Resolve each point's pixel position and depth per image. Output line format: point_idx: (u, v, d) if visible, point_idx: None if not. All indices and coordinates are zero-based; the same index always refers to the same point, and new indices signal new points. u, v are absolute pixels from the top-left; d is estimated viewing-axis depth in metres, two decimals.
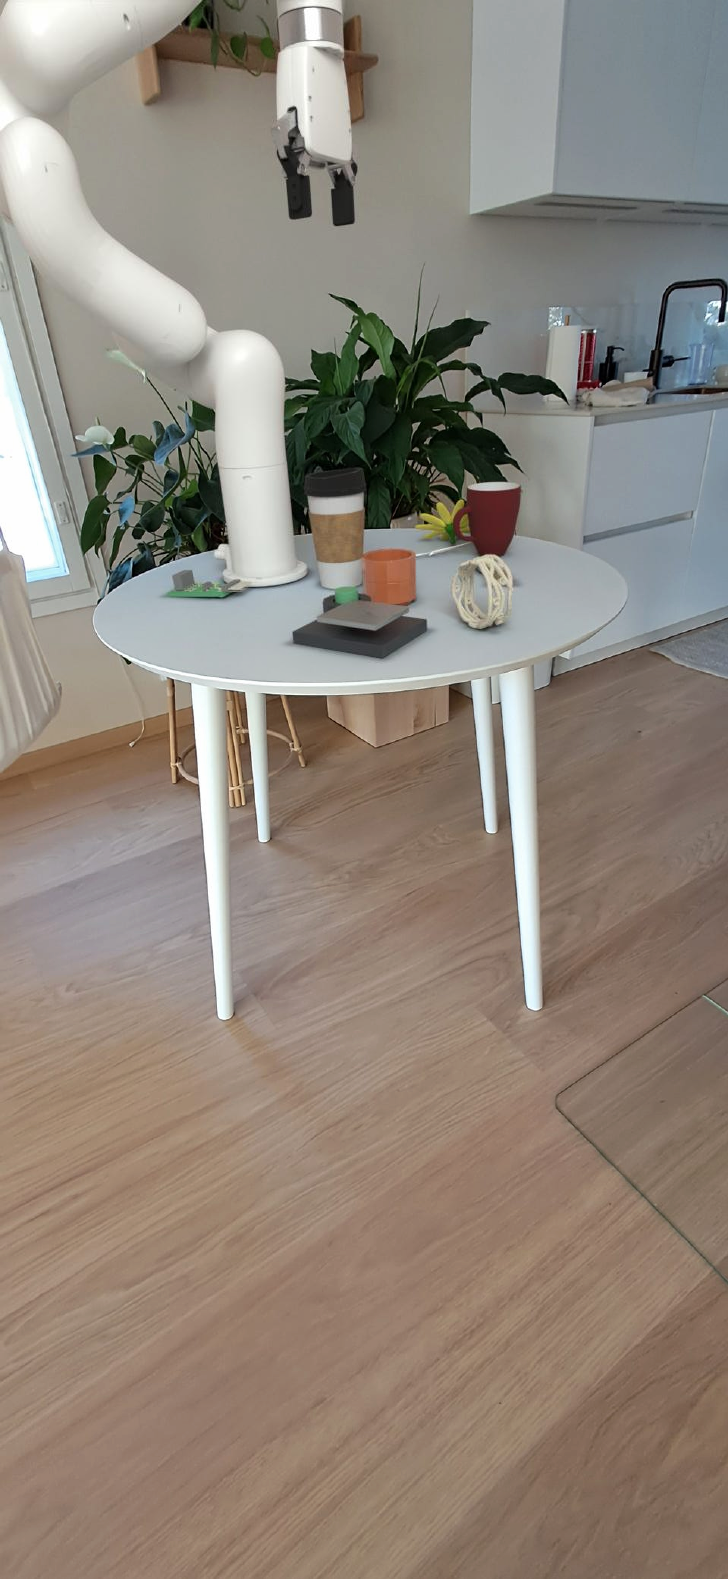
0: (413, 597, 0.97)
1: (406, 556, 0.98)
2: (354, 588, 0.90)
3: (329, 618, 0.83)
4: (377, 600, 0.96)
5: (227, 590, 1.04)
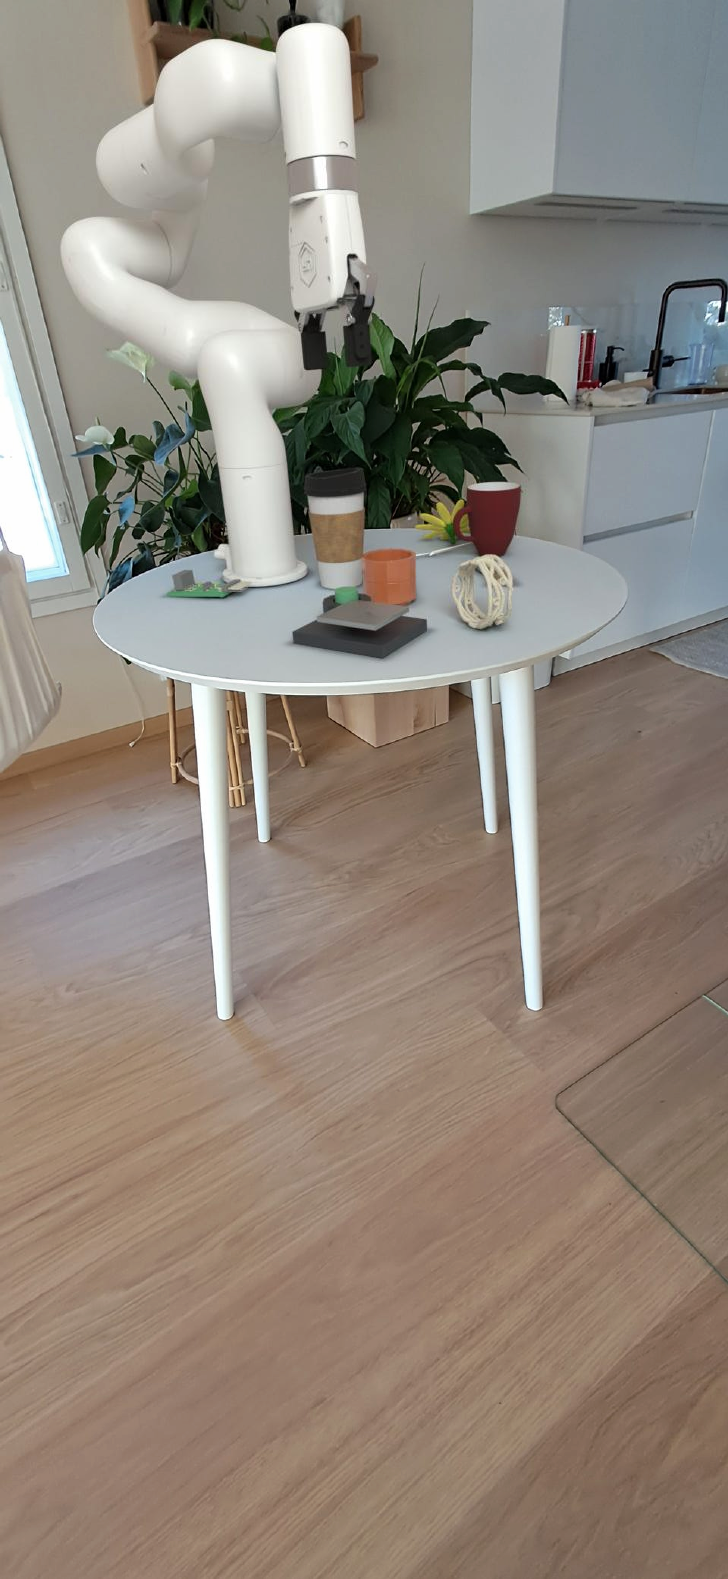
0: (413, 597, 0.97)
1: (406, 556, 0.98)
2: (354, 588, 0.90)
3: (329, 618, 0.83)
4: (377, 600, 0.96)
5: (227, 590, 1.04)
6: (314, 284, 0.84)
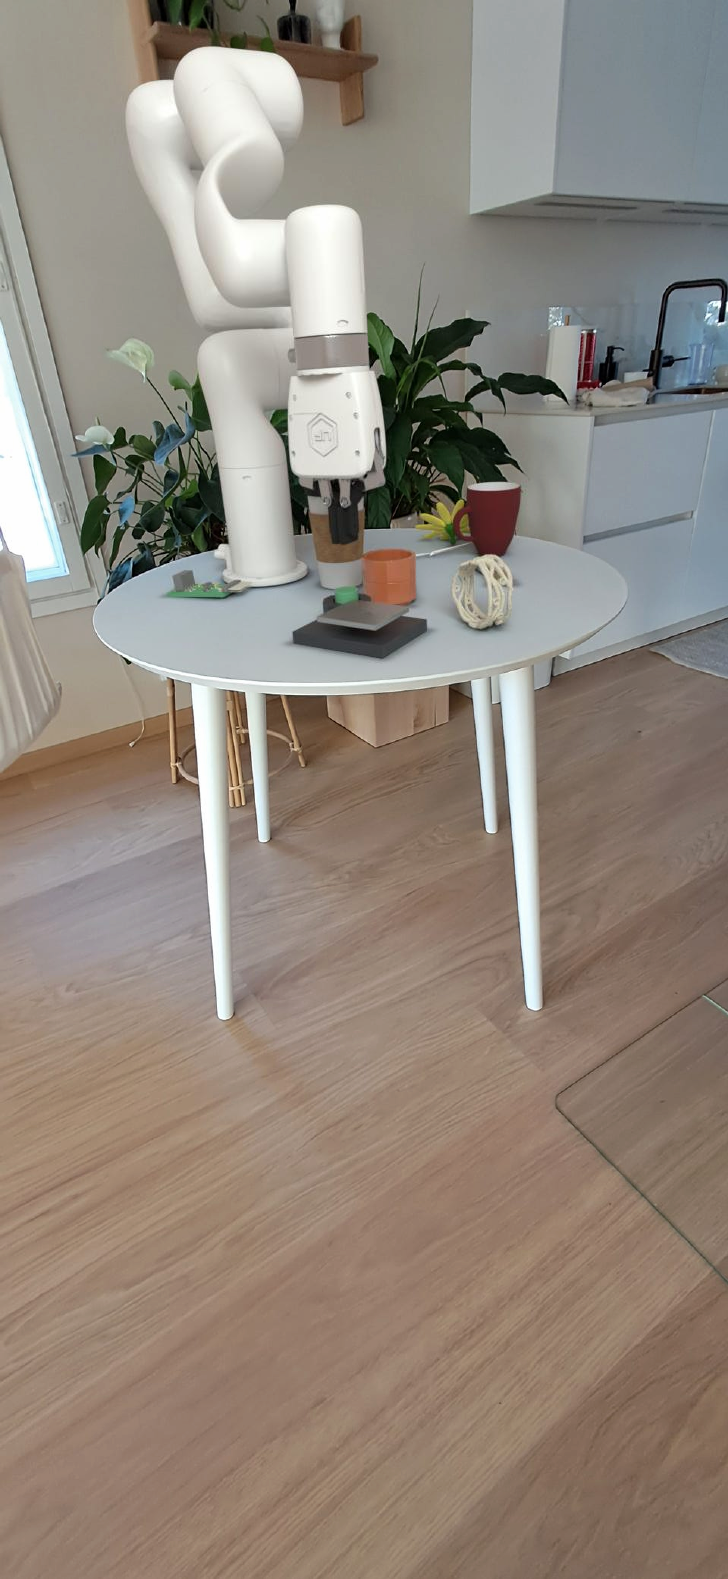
0: (413, 597, 0.97)
1: (406, 556, 0.98)
2: (354, 588, 0.90)
3: (329, 618, 0.83)
4: (377, 600, 0.96)
5: (227, 590, 1.04)
6: (334, 455, 0.80)
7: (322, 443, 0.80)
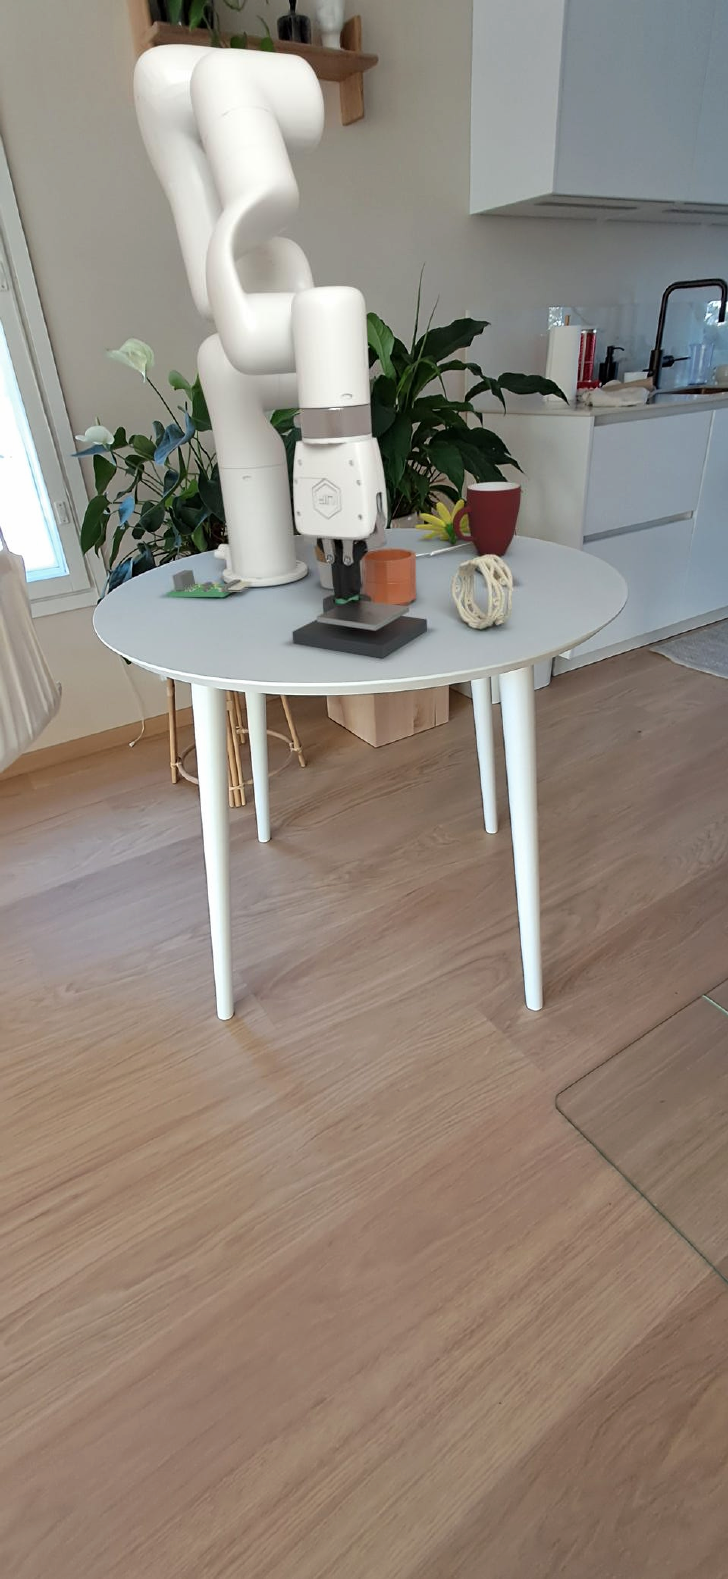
0: (413, 597, 0.97)
1: (406, 556, 0.98)
2: None
3: (329, 618, 0.83)
4: (377, 600, 0.96)
5: (227, 590, 1.04)
6: (337, 518, 0.83)
7: (326, 506, 0.83)
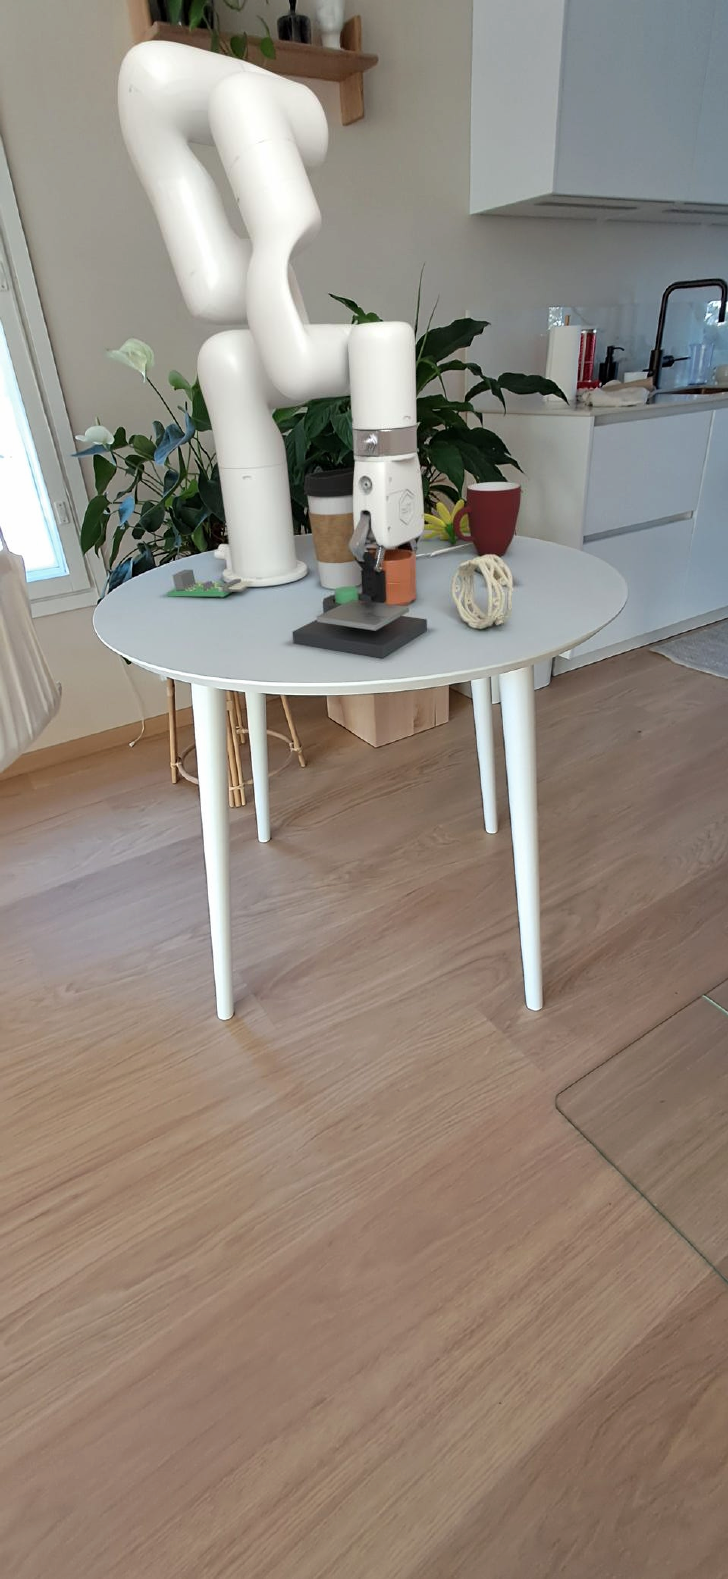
0: (413, 597, 0.97)
1: (406, 556, 0.98)
2: (354, 588, 0.90)
3: (329, 618, 0.83)
4: None
5: (227, 590, 1.04)
6: (412, 521, 0.94)
7: (406, 514, 0.92)
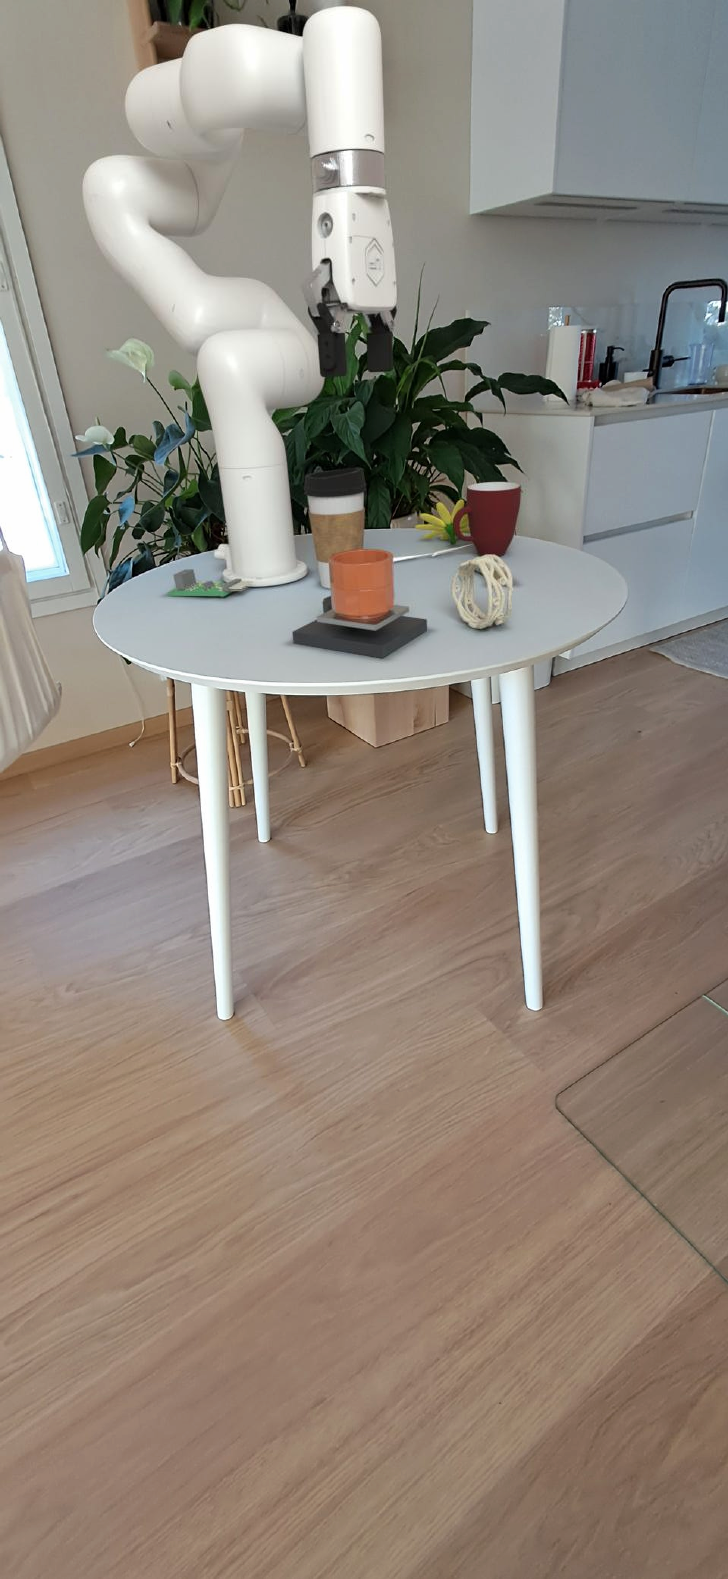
0: (390, 607, 0.82)
1: (382, 558, 0.83)
2: None
3: (329, 618, 0.83)
4: (347, 610, 0.81)
5: (228, 589, 1.04)
6: (382, 285, 0.81)
7: (374, 271, 0.79)
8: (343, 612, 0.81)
